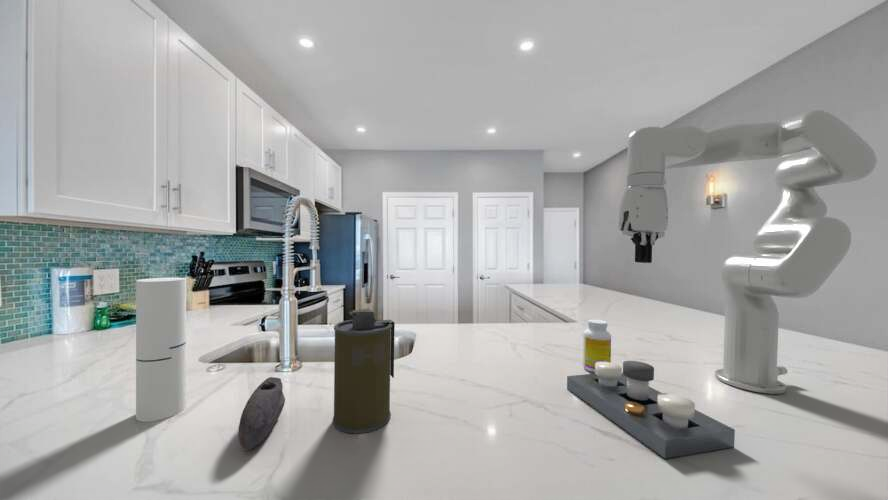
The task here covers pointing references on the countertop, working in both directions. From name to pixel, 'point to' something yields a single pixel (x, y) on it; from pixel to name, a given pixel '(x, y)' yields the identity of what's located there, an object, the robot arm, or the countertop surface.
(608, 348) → the supplement bottle
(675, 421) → the knob
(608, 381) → the knob
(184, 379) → the cylindrical container
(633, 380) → the knob middle
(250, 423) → the perforated stone tool
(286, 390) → the countertop surface
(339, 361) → the canister
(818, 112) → the robot arm
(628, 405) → the panel
